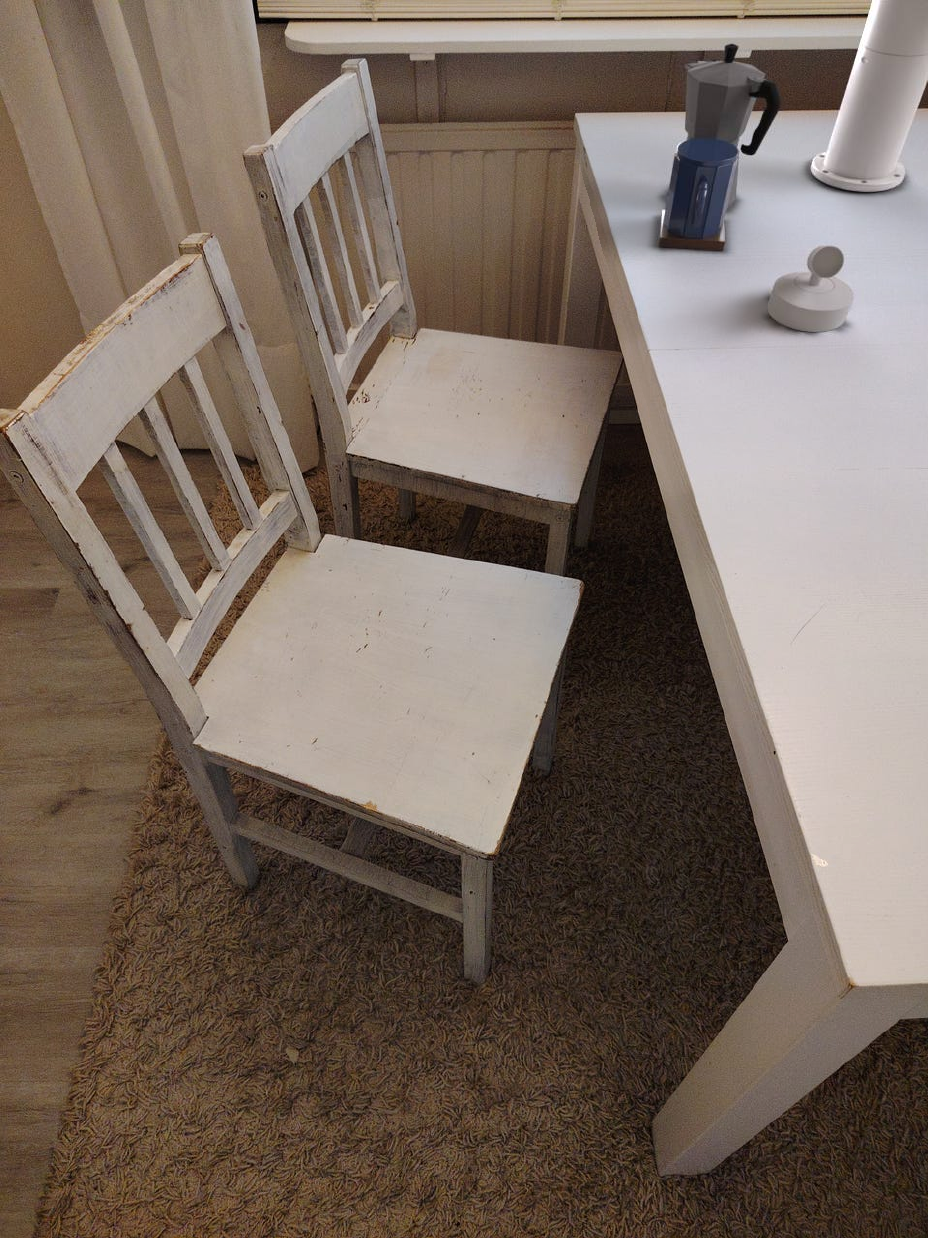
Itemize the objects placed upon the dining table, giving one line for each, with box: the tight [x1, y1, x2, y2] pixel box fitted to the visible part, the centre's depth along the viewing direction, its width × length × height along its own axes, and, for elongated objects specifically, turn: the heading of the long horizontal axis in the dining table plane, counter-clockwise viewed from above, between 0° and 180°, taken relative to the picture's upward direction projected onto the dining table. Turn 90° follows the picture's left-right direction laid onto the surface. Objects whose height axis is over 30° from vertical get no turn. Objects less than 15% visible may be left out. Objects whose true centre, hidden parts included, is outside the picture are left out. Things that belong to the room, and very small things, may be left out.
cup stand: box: [658, 209, 726, 252], centre depth 100 cm, size 8×8×9 cm
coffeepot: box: [666, 43, 782, 209], centre depth 102 cm, size 15×9×18 cm, turn 36°
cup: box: [663, 138, 739, 239], centre depth 98 cm, size 9×8×9 cm
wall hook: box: [767, 244, 855, 333], centre depth 87 cm, size 9×10×10 cm
